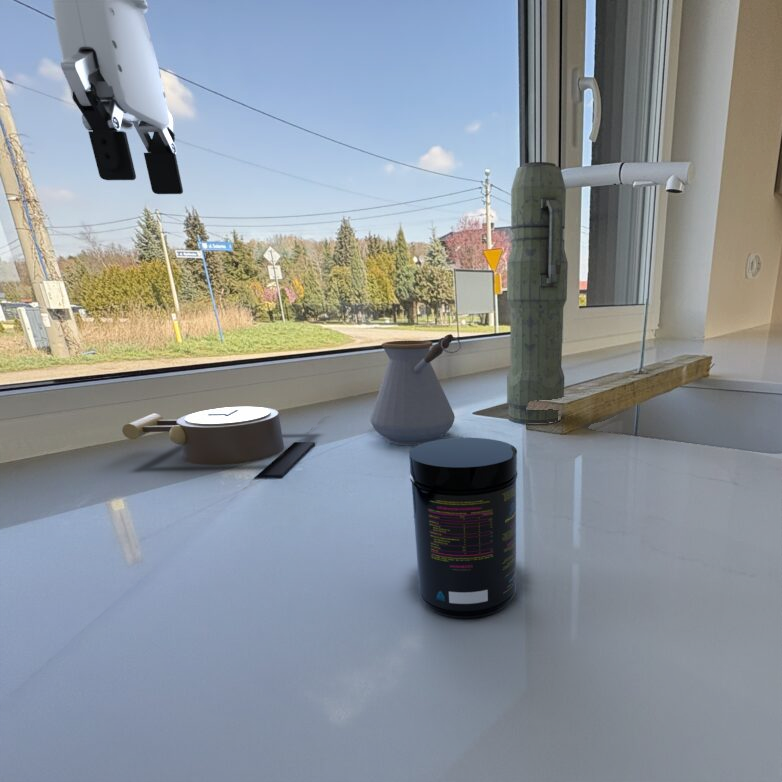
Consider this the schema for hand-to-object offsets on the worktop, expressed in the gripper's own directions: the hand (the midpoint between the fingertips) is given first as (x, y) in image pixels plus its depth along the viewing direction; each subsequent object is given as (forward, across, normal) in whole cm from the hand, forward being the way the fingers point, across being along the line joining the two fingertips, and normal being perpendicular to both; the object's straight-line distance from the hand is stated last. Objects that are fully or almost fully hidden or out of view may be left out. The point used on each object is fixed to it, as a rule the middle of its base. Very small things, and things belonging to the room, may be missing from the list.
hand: (145, 187), depth 60 cm
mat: (+30, +3, +5) cm, 30 cm away
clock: (+29, +3, +2) cm, 29 cm away
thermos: (+30, -18, +44) cm, 56 cm away
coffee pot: (+30, -2, +27) cm, 41 cm away
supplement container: (+30, +37, +33) cm, 58 cm away
